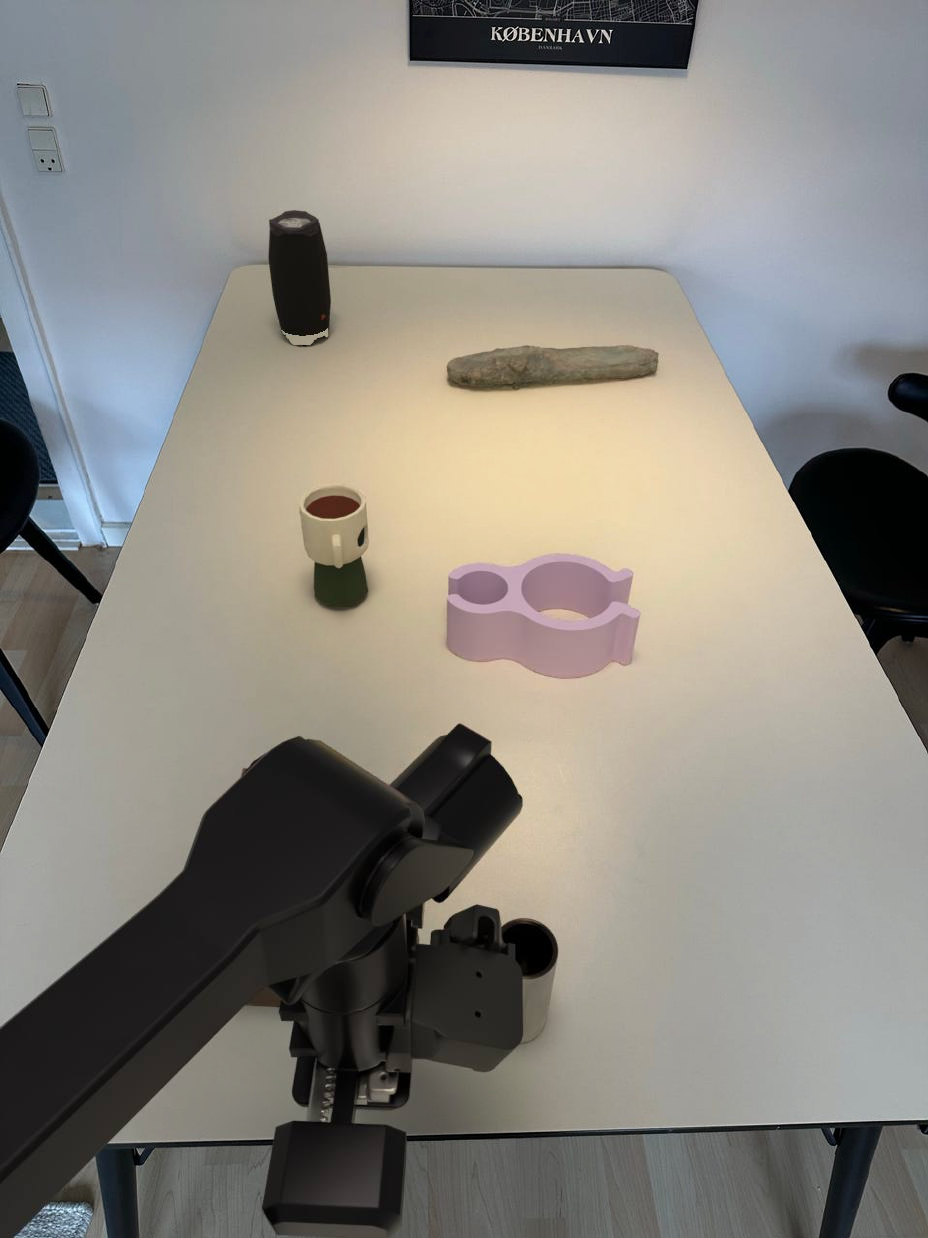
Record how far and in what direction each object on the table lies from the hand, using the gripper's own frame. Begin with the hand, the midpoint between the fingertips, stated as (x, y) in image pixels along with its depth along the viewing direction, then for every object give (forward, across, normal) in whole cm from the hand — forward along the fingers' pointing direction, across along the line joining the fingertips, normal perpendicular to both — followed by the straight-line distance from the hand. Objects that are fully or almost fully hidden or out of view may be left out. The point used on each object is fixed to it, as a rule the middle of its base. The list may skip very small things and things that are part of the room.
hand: (365, 1083), depth 53 cm
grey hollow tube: (+13, +10, -10) cm, 19 cm away
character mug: (+13, +58, +10) cm, 61 cm away
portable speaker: (+13, +125, +25) cm, 128 cm away
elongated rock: (+13, +114, -17) cm, 116 cm away
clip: (+13, +52, -12) cm, 55 cm away
